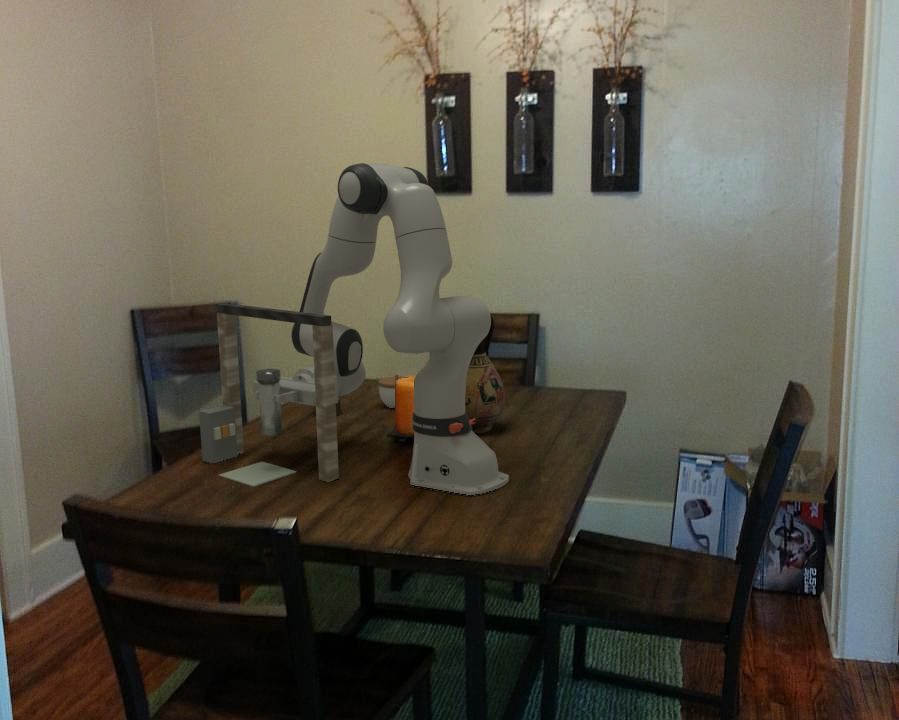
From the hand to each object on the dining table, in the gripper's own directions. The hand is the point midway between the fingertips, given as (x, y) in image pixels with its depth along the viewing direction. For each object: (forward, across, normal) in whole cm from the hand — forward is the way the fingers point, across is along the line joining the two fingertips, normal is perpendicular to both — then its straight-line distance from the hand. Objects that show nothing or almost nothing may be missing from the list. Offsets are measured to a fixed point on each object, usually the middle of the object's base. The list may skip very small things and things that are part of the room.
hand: (266, 397), depth 196 cm
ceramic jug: (-54, +20, +17) cm, 60 cm away
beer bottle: (-45, -24, +17) cm, 54 cm away
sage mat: (+3, -1, +17) cm, 17 cm away
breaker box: (0, -17, +17) cm, 24 cm away
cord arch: (-4, -1, +17) cm, 17 cm away
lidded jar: (-62, -13, +17) cm, 65 cm away
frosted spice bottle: (-1, 0, +8) cm, 8 cm away
